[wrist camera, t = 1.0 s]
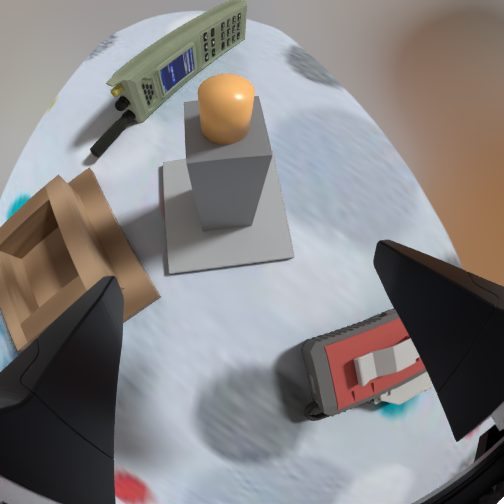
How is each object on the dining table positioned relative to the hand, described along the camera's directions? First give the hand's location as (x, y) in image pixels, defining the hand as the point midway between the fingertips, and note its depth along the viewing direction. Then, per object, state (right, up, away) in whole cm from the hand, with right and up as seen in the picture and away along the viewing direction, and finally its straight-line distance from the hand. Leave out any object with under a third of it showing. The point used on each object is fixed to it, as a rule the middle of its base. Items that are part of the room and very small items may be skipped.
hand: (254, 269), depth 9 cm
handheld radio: (-9, +20, +18) cm, 28 cm away
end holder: (-17, -1, +12) cm, 21 cm away
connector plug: (-2, +4, +14) cm, 15 cm away
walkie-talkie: (+13, -9, +14) cm, 21 cm away
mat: (-2, +4, +15) cm, 15 cm away
